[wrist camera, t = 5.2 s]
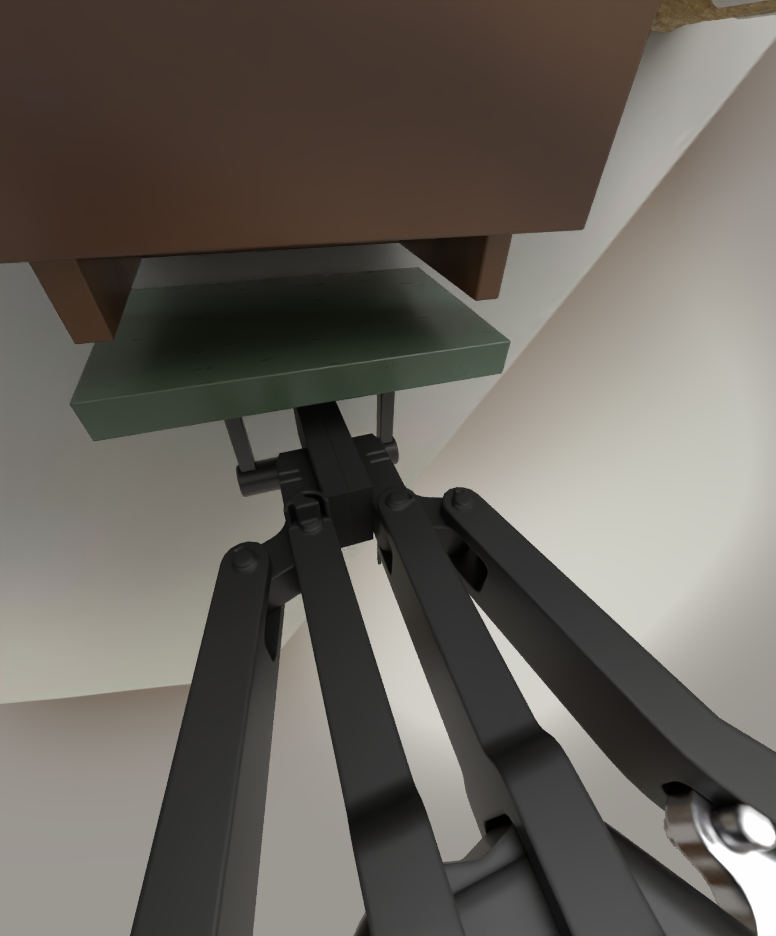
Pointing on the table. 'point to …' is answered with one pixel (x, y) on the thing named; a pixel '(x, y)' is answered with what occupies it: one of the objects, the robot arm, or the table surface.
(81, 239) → the cabinet
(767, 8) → the sprinkles bottle
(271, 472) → the drawer
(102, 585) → the table surface
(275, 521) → the table surface
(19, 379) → the table surface
